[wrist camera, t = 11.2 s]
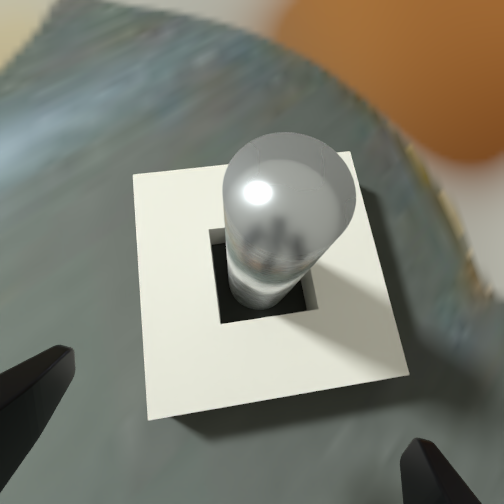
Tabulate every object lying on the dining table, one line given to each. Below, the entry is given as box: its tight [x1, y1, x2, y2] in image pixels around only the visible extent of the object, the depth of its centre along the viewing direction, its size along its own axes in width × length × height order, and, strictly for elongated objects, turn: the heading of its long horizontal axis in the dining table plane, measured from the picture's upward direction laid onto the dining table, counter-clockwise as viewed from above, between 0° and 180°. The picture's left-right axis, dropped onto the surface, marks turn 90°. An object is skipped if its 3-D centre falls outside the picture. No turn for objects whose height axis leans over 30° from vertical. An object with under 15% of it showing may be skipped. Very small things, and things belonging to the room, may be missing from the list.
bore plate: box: [133, 151, 409, 420], centre depth 21 cm, size 14×14×3 cm
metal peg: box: [222, 132, 356, 310], centre depth 16 cm, size 4×4×13 cm
